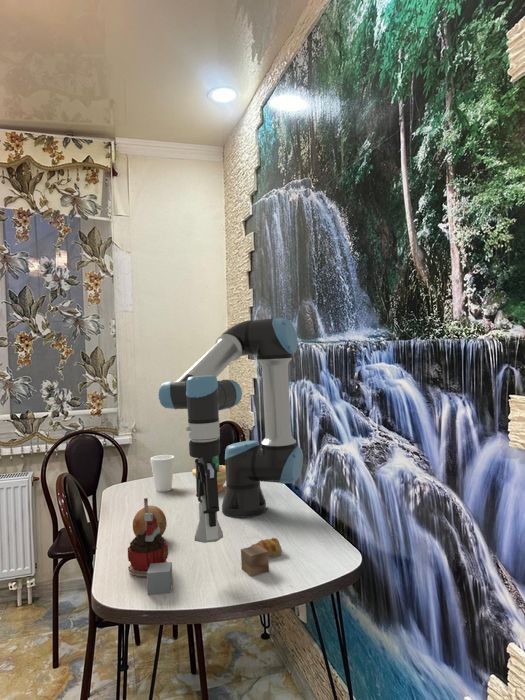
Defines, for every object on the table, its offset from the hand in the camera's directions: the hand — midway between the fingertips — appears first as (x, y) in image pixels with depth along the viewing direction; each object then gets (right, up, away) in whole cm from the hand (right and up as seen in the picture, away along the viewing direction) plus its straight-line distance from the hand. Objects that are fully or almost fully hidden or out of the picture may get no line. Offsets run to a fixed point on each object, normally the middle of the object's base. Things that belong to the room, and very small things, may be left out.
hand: (208, 533), depth 116 cm
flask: (0, -1, 0) cm, 1 cm away
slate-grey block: (-10, -10, -6) cm, 16 cm away
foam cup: (-27, -12, +78) cm, 83 cm away
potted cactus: (-7, -11, +75) cm, 77 cm away
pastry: (+14, -10, +11) cm, 20 cm away
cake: (-16, -11, +4) cm, 19 cm away
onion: (-20, -11, +23) cm, 32 cm away
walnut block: (+11, -10, +1) cm, 15 cm away
